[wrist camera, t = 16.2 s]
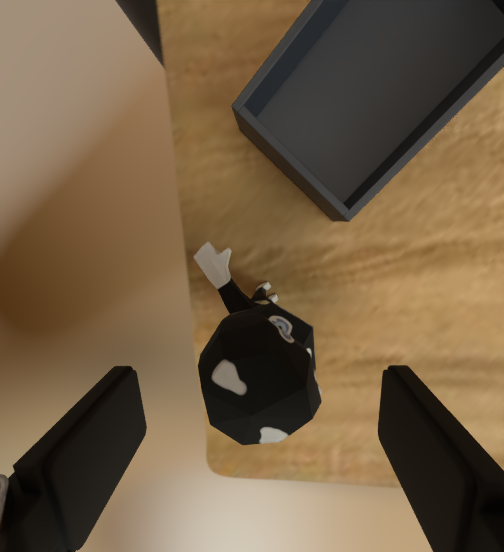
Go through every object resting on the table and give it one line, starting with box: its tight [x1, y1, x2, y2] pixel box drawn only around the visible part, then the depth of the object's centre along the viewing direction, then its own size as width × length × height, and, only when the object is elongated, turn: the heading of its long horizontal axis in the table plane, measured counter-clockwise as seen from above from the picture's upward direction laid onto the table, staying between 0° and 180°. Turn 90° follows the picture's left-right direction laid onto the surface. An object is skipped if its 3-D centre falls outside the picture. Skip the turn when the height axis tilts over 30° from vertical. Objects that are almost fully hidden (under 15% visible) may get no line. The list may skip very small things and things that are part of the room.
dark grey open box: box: [231, 0, 504, 222], centre depth 17 cm, size 11×18×4 cm, turn 138°
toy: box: [193, 241, 322, 445], centre depth 17 cm, size 13×6×15 cm, turn 33°
